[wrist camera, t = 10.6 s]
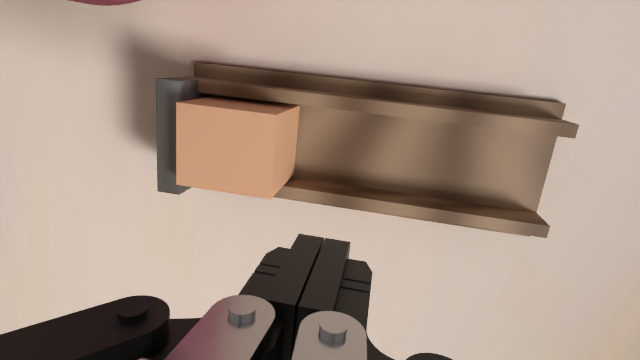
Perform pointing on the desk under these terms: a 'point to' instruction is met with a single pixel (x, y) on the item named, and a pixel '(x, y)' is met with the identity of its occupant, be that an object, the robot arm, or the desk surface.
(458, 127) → the walnut chute
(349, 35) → the desk surface
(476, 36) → the desk surface
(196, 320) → the robot arm
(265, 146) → the terracotta block
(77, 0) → the plant pot
